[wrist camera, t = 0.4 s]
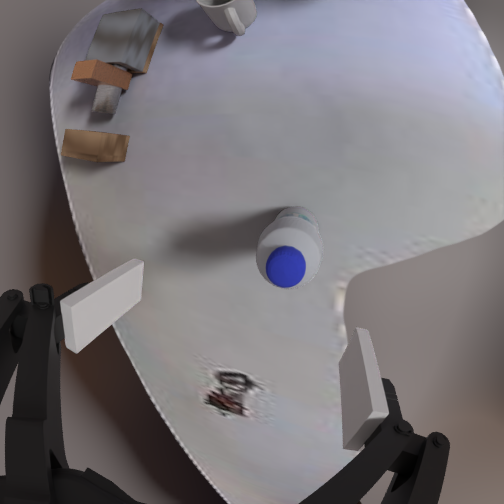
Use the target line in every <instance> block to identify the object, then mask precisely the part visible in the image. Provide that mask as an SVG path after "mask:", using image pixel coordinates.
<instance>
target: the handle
mask: <svg viewBox="0 0 504 504" xmlns="http://www.w3.org/2000/svg"><path fill="white" fill-rule="evenodd" d="M127 71H128V68H127V67H125V66H122V65H120V64H107V63H105V62H102V61H100V60H97V59H96V60H86V61H78V62H76V64H75V67H74V70H73V74H72V77H71V80H75V81H79V82H83V83H87V84H90V85H94V86H97V91H96V95H95V98H94V102H93V106H92V110H91V111H93V112H100V113H108V114H116V109H117V106H118V102H119V98H120V94H121V91H122V90H128V87H129V84H130V80H131V77H132V74H131V73H129V72H127Z"/></svg>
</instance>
